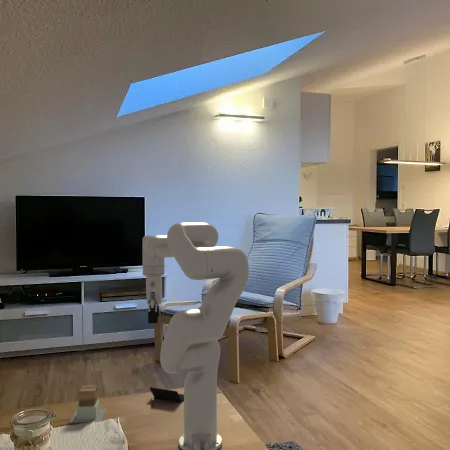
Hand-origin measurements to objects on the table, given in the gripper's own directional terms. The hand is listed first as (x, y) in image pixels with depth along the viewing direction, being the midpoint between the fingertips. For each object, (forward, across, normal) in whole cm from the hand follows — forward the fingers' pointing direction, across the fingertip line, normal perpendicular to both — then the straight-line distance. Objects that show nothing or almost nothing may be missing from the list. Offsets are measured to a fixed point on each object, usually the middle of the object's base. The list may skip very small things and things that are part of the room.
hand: (153, 319), depth 161 cm
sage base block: (+30, -7, +21) cm, 37 cm away
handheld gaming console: (+31, +6, -5) cm, 32 cm away
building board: (+30, -7, +21) cm, 38 cm away
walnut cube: (+26, -7, +21) cm, 34 cm away
